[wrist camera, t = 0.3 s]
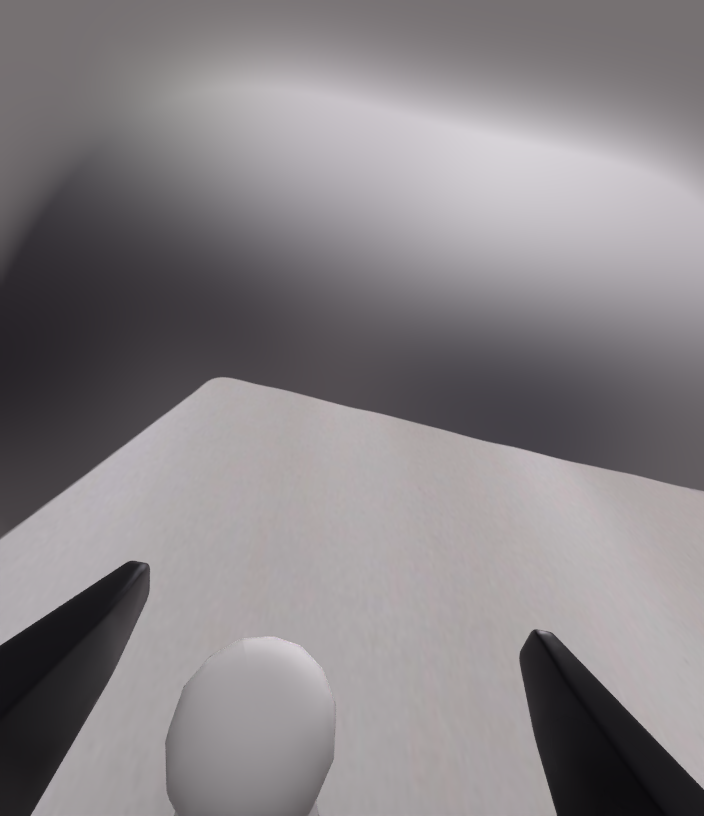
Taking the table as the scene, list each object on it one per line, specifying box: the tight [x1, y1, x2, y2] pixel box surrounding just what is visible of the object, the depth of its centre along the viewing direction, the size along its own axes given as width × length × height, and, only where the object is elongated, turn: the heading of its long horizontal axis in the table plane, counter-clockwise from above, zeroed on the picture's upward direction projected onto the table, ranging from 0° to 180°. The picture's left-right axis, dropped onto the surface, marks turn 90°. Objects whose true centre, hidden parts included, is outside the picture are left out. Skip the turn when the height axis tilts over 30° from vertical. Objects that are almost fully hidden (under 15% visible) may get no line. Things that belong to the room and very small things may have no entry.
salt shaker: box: [165, 636, 336, 816], centre depth 13 cm, size 6×6×13 cm
